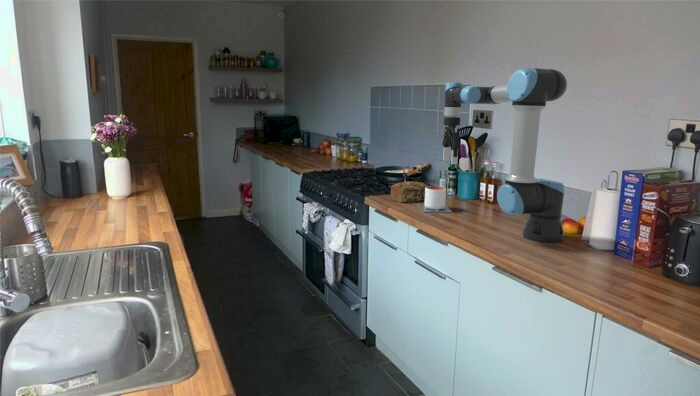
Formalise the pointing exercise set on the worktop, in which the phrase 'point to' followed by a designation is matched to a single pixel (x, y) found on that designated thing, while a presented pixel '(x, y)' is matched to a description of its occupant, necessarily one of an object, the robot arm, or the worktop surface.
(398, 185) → the bread
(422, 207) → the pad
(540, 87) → the robot arm
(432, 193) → the cup
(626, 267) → the worktop surface
